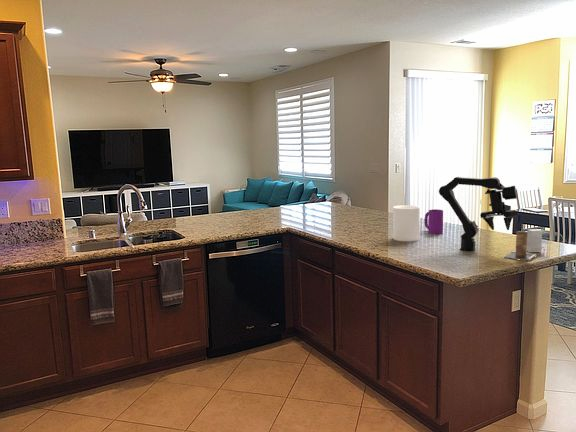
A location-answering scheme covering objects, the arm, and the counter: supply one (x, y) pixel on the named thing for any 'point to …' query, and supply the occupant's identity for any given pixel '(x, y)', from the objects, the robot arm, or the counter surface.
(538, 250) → the skincare box
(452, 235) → the counter surface
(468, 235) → the robot arm
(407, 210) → the canister
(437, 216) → the mug
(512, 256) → the slate mat
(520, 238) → the brown cylinder
